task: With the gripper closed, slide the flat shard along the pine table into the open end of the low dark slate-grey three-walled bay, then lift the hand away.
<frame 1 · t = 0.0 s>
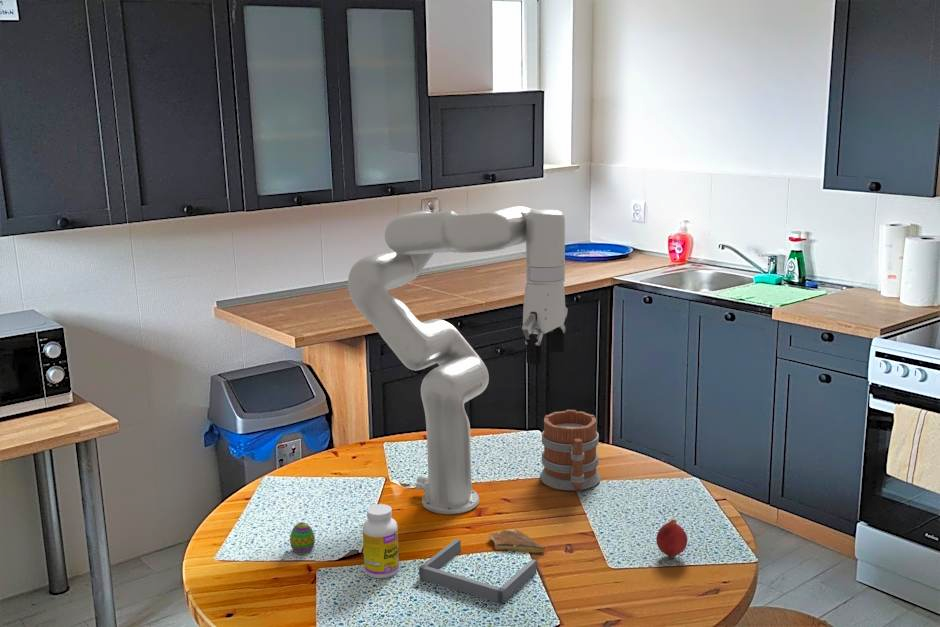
hand: (545, 357, 191), 37 cm above the table, tool pointing down, fingers open, 9 cm apart
onion: (671, 558, 186), on the table
slate bay: (479, 574, 181), on the table
mug: (571, 484, 221), on the table
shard: (518, 545, 194), on the table
egg: (303, 551, 193), on the table
supplement bottle: (382, 572, 184), on the table
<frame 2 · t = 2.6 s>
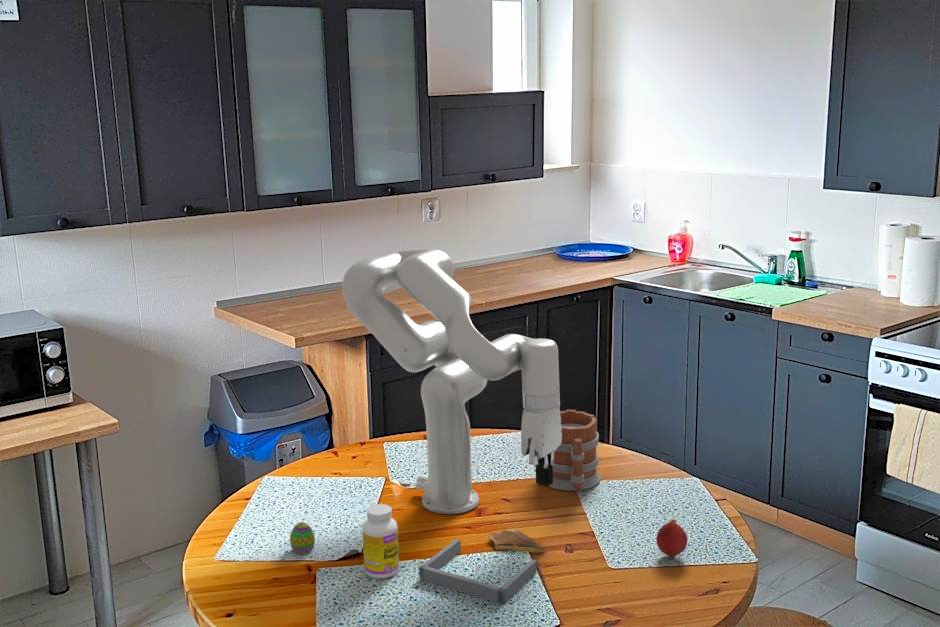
hand: (544, 483, 199), 9 cm above the table, tool pointing down, fingers closed
nothing on the table moved.
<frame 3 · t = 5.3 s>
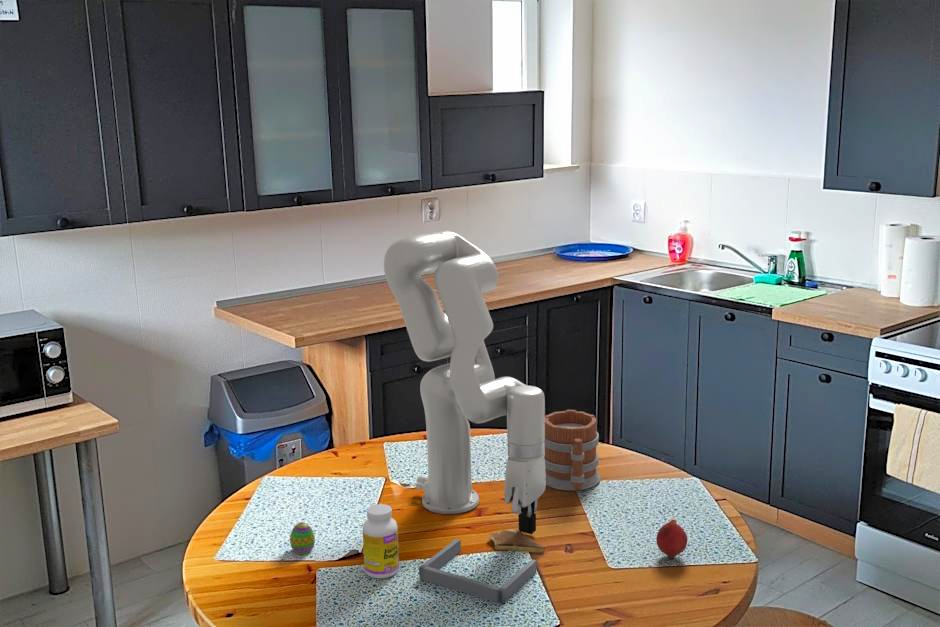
hand: (527, 531, 197), 1 cm above the table, tool pointing down, fingers closed
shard: (518, 545, 194), on the table, touching gripper
everything else where it was.
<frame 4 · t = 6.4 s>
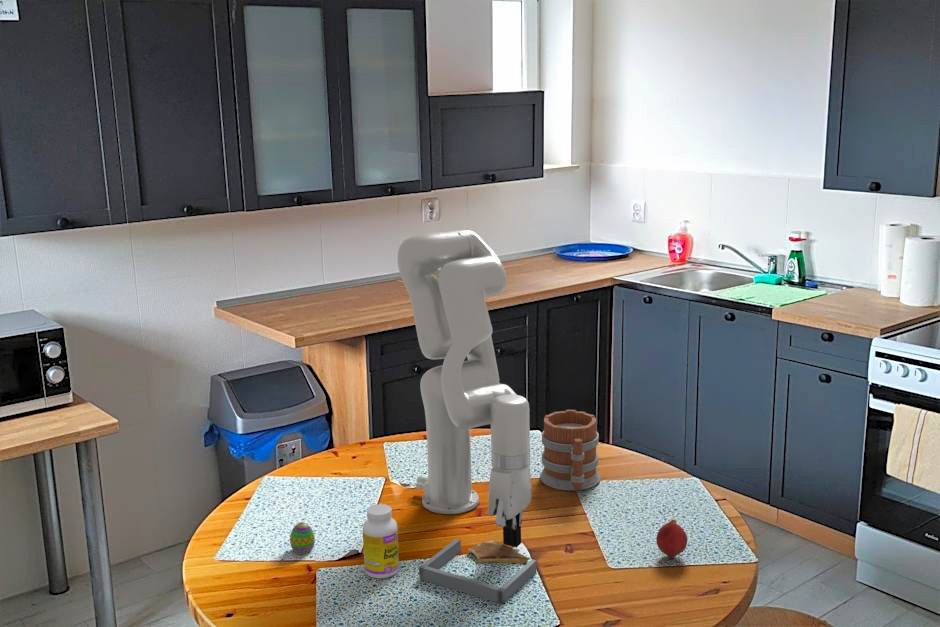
hand: (512, 544, 191), 1 cm above the table, tool pointing down, fingers closed
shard: (499, 556, 190), on the table
everything else where it was.
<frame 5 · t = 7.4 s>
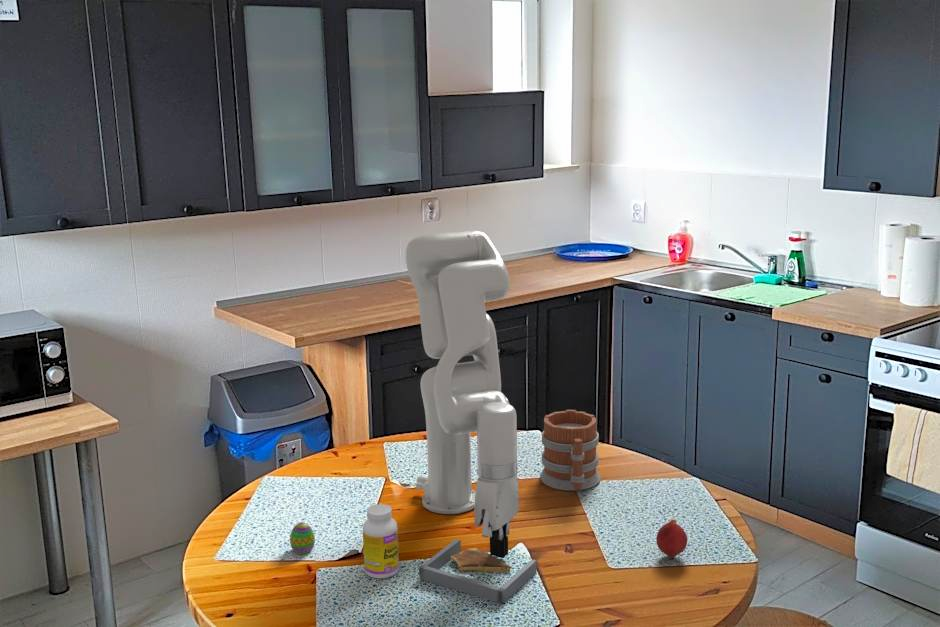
hand: (499, 554, 187), 1 cm above the table, tool pointing down, fingers closed
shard: (481, 564, 186), on the table, touching gripper
everything else where it was.
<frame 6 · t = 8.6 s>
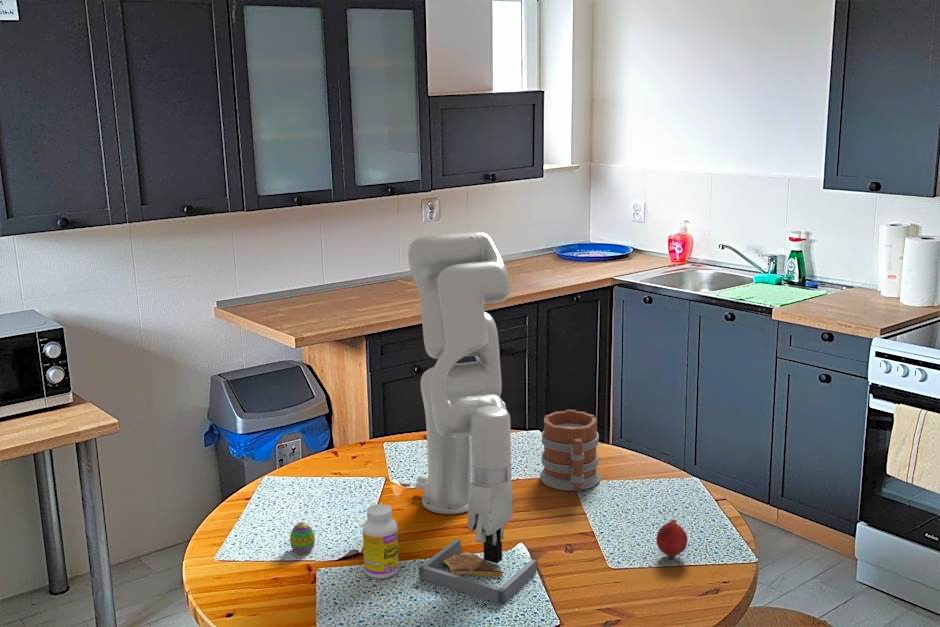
hand: (493, 559, 185), 1 cm above the table, tool pointing down, fingers closed
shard: (474, 569, 185), on the table
everything else where it was.
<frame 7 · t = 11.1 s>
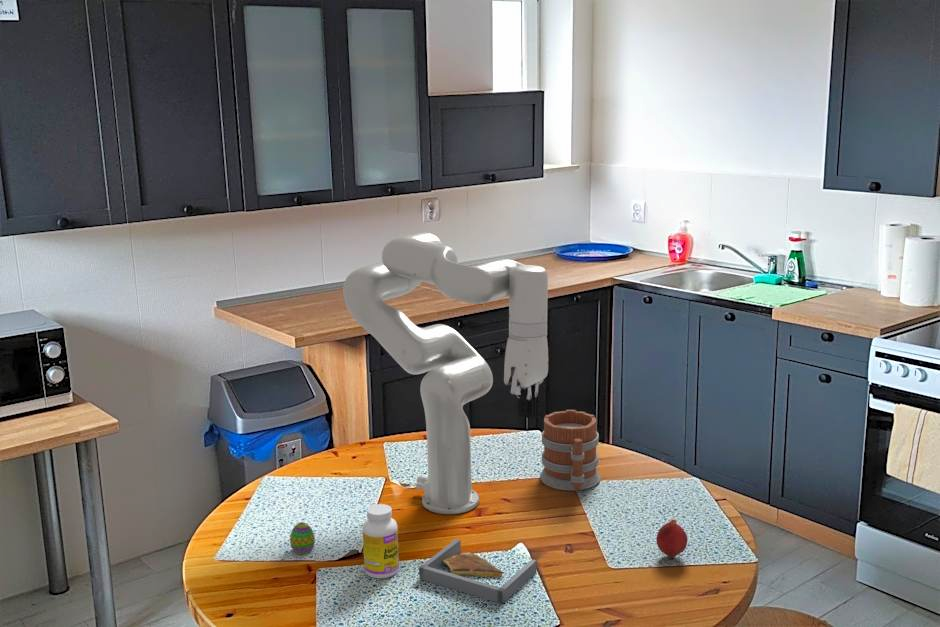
hand: (527, 415, 193), 25 cm above the table, tool pointing down, fingers closed
nothing on the table moved.
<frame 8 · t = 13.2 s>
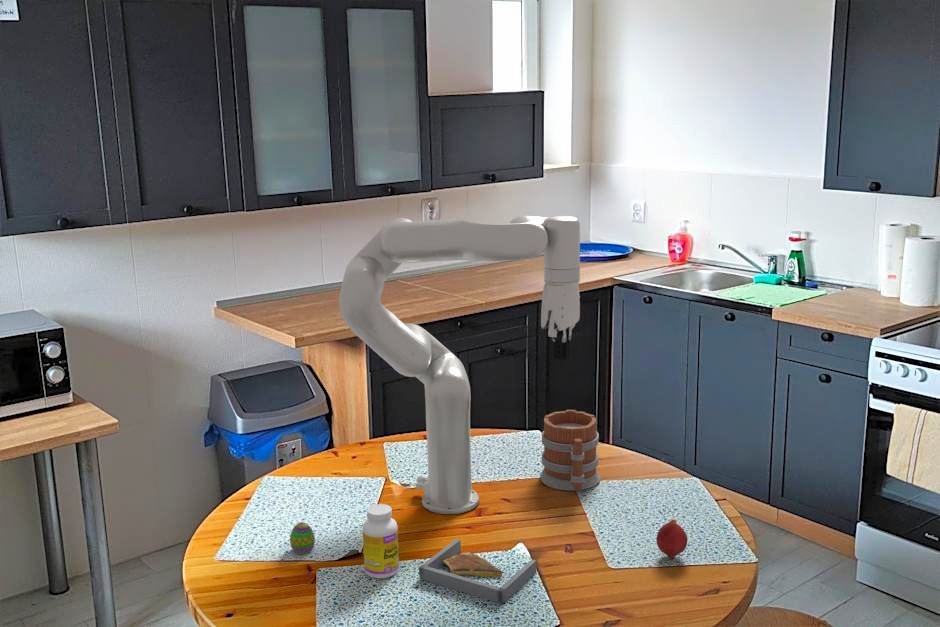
hand: (562, 358, 207), 32 cm above the table, tool pointing down, fingers closed
nothing on the table moved.
at the end: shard inside the target area (4.7 cm from its centre), on the table; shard moved 12.9 cm from its start; the gripper is holding nothing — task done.
